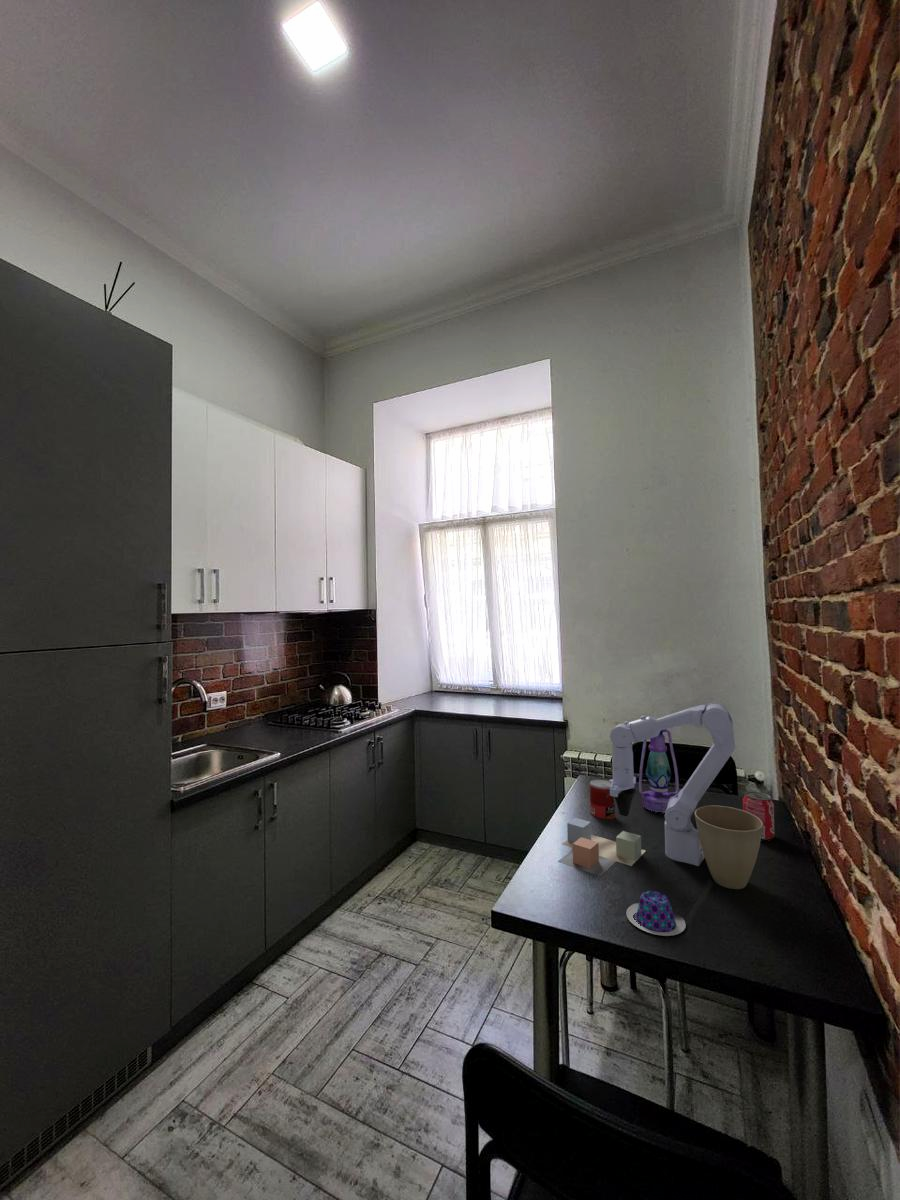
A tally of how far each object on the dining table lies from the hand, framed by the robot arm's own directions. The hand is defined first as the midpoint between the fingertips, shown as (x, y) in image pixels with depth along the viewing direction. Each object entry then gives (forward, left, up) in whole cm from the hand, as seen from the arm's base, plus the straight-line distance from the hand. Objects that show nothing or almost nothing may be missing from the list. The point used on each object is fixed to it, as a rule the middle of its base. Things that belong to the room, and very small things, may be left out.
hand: (624, 814), depth 143 cm
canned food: (+14, -17, -10) cm, 24 cm away
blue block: (+11, +6, -8) cm, 15 cm away
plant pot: (-27, +1, -10) cm, 29 cm away
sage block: (-3, +6, -8) cm, 10 cm away
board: (+4, +10, -9) cm, 14 cm away
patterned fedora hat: (-18, +29, -10) cm, 35 cm away
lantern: (+2, -36, -10) cm, 37 cm away
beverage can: (-28, -33, -10) cm, 44 cm away
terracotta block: (+4, +17, -8) cm, 19 cm away
